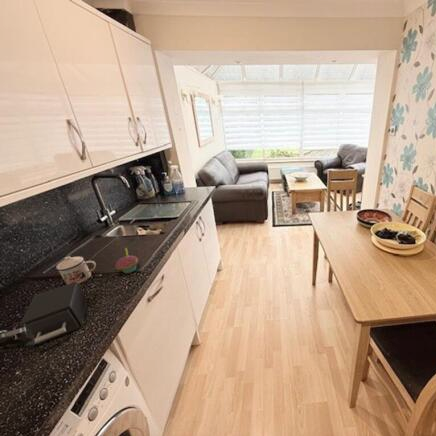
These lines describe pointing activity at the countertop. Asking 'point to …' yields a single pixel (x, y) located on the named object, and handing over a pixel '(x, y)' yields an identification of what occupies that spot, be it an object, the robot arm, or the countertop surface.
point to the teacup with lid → (74, 269)
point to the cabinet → (57, 303)
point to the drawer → (52, 326)
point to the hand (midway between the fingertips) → (30, 341)
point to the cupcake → (127, 263)
